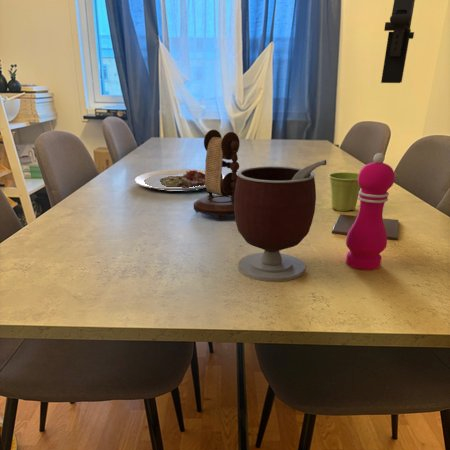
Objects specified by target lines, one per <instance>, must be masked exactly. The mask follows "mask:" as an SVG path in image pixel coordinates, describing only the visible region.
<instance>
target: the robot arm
mask: <svg viewBox="0 0 450 450" xmlns="http://www.w3.org/2000/svg"><path fill="white" fill-rule="evenodd" d="M415 2H416V0H393V4H392V12H391V15H390V17H389V21H386V22H385V23H384V29H383V31H384V32H388V34H387V41H386V47H385V53H384V60H383V68H382V74H381V80H380V83H381V84H401V83H402V82H403V78H404V72H405V66H406V60H407V54H408V48H409V42H410V40H413V39H414V37H415V32H414V31H412V29H411V26H412V19H413V14H414V8H415Z"/></svg>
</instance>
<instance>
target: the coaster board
mask: <svg viewBox="0 0 450 450" xmlns="http://www.w3.org/2000/svg"><path fill="white" fill-rule="evenodd" d="M357 216H358V215H352V214H351V215H350V214H341V213H340V214H339V215H338V217H337V219H336V222H334V226H333V228H332V230H331V234H334V235H344V236H347V234H348V232H349V230H350V228H351V227H352V225H353V224H354V222H355V220H356V219H357ZM383 223H384V227H385V230H386V234H387V240H390V241H398V239H399V219H395V218H394V219H393V218H384V217H383Z"/></svg>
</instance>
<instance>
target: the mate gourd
mask: <svg viewBox="0 0 450 450" xmlns="http://www.w3.org/2000/svg"><path fill="white" fill-rule="evenodd" d="M326 165H327V160H326V159H321V160H319V161H316V162H314V163H311V164H309V165H307V166H305V167H303V168H300V167H294V166H279V165H268V166H267V165H265V166H264V165H263V166H253V167H247V168H243V169H240V170H238V172H237V175H238V177H237V181H236V187H235V193H234V213H235V215H234V219H235V225H236V228H237V232H238V233H239V234H240V236H241V237H242V238H243V240H244V241H245V242H246V243H247V244H248V245H250V246H252V247H255V248H259V249H261V250H264V251H263V252H256V253H251V254H247V255H245V256H244V257H242V258H241V259H239V261H238V263H237V269H238V271H239V273H240V274H242V275H243V276H245V277H247V278H249V279H251V280H252V279H253V280H255V281H261V282H271V283H272V282H274V283H275V282H276V283H277V282H278V283H279V282H286V281H291V280H294V279H297V278H300V277H301V276H302V275H303V274H304V273H305V269H306V265H305V263H304V262H303V260H301V259H300V258H299V257H296V256H294V255H290V254H288V253H281V252H280V251H283V250H286V249H291V248H294V247H296V246H298V245H299V244H300V243H301V242H302V241H303V240H304V239H305V238H306V237H307V235H308V234H309V232H310V229H311V228H312V224H313V220H314V217H315V211H316V201H317V192H316V191H317V189H316V179H315V176H316V175H315V173H314V172H313V171H314V170H316V169H317V168H319V167H321V166H326Z"/></svg>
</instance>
